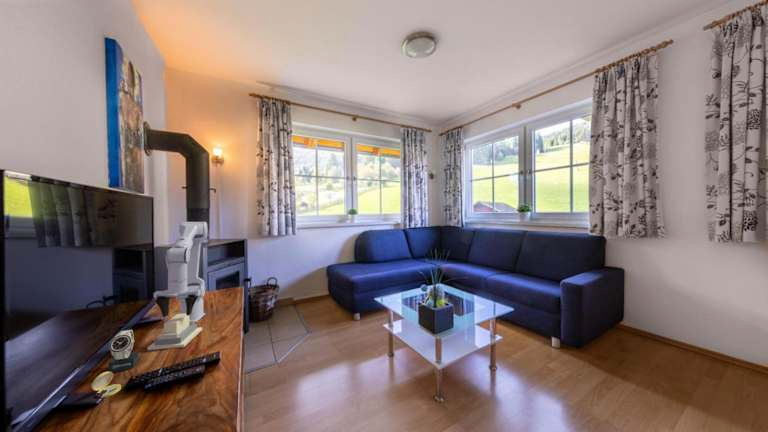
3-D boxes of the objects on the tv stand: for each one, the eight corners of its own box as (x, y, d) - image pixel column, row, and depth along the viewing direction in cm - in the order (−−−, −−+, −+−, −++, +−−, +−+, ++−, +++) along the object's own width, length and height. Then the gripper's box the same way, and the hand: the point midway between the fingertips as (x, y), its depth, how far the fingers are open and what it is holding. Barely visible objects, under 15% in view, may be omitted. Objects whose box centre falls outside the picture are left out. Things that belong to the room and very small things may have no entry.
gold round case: (106, 398, 66) (106, 379, 66) (89, 396, 67) (90, 377, 67) (125, 387, 71) (125, 369, 71) (109, 385, 71) (110, 367, 71)
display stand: (171, 331, 103) (171, 320, 103) (202, 329, 105) (202, 318, 105) (147, 350, 89) (147, 337, 89) (184, 346, 92) (184, 334, 92)
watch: (105, 377, 75) (105, 339, 74) (117, 362, 82) (117, 328, 82) (131, 371, 77) (131, 335, 77) (140, 358, 84) (141, 325, 84)
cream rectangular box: (177, 326, 101) (177, 313, 101) (189, 325, 102) (189, 313, 102) (163, 337, 92) (163, 323, 92) (176, 336, 93) (176, 322, 93)
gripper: (148, 283, 92) (147, 321, 92) (194, 281, 95) (194, 318, 95) (160, 278, 98) (160, 313, 99) (203, 276, 102) (202, 310, 102)
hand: (177, 315), depth 97 cm, fingers open, 7 cm apart
